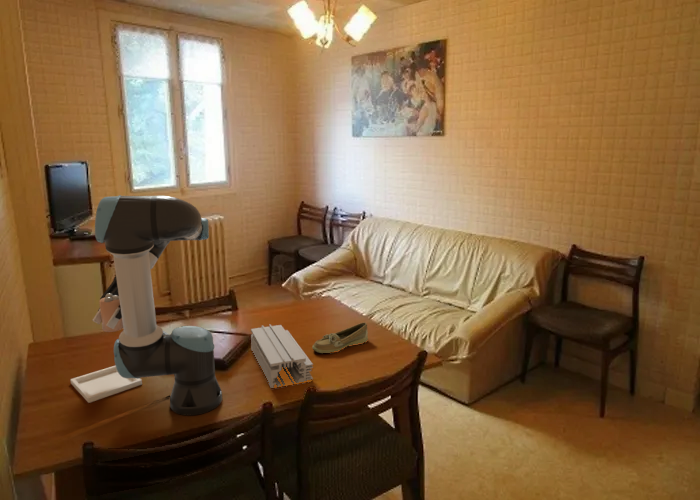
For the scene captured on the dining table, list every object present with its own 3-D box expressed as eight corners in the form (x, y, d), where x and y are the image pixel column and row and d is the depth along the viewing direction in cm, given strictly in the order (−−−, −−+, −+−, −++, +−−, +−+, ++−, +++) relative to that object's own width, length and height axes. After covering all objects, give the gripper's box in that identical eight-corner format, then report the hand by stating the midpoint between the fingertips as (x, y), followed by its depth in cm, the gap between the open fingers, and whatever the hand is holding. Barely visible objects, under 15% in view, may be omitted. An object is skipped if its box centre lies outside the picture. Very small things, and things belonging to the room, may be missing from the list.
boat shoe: (307, 350, 184) (307, 332, 182) (354, 334, 200) (354, 317, 199) (323, 359, 177) (324, 340, 175) (370, 342, 193) (371, 324, 192)
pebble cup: (127, 328, 160) (123, 293, 157) (107, 333, 155) (103, 298, 152) (119, 322, 164) (115, 288, 161) (99, 327, 160) (95, 293, 157)
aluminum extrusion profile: (287, 345, 188) (287, 322, 186) (313, 382, 161) (313, 354, 159) (251, 351, 183) (250, 326, 180) (271, 390, 155) (270, 361, 153)
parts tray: (142, 387, 155) (141, 380, 154) (88, 405, 144) (88, 398, 143) (122, 370, 166) (122, 363, 165) (71, 386, 154) (70, 379, 154)
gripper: (167, 274, 165) (130, 336, 155) (129, 266, 173) (92, 323, 164) (153, 263, 159) (113, 326, 149) (115, 255, 168) (75, 313, 158)
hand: (102, 324), depth 156 cm, fingers closed on pebble cup, 6 cm apart
